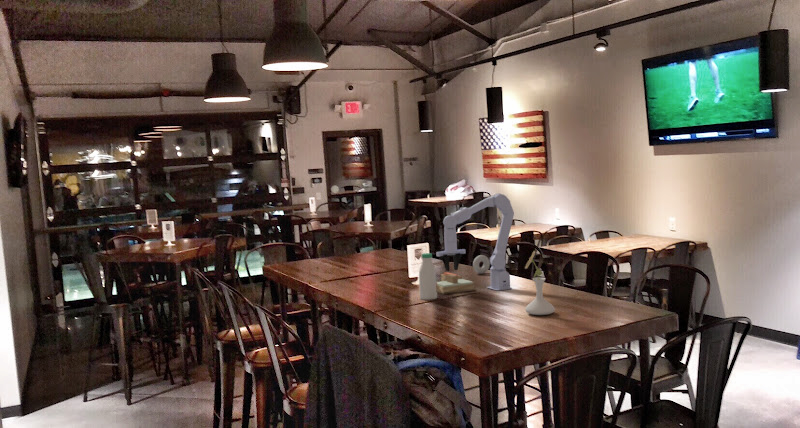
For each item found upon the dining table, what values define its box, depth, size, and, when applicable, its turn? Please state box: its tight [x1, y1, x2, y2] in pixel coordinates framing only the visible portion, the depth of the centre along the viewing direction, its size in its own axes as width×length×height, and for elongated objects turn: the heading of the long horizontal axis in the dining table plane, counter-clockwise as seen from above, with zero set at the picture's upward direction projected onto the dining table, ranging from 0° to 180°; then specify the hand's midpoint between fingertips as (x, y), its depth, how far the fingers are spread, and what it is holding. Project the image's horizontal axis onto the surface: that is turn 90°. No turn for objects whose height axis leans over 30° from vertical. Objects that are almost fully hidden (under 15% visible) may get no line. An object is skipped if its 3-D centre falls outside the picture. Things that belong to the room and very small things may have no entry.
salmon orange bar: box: [443, 271, 459, 276], centre depth 331 cm, size 10×2×2 cm, turn 24°
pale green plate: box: [437, 274, 474, 287], centre depth 317 cm, size 10×15×4 cm
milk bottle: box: [418, 252, 438, 301], centre depth 300 cm, size 8×8×20 cm
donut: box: [472, 254, 491, 275], centre depth 359 cm, size 10×4×10 cm, turn 116°
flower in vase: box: [524, 250, 556, 316], centre depth 260 cm, size 13×11×25 cm
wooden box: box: [437, 282, 475, 295], centre depth 317 cm, size 11×16×3 cm
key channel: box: [440, 273, 463, 281], centre depth 330 cm, size 13×5×5 cm, turn 24°
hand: (451, 270), depth 317 cm, fingers open, 4 cm apart
